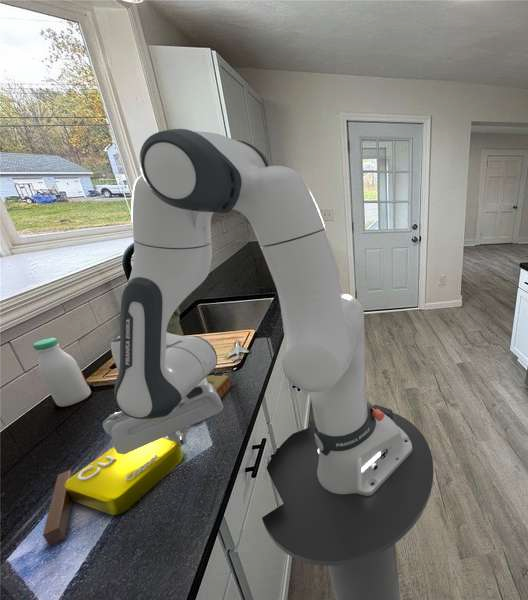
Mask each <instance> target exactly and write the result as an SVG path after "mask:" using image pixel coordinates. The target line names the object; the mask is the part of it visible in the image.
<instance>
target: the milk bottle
mask: <svg viewBox="0 0 528 600" xmlns="http://www.w3.org/2000/svg"><path fill="white" fill-rule="evenodd" d="M32 347H33V349H34V350H35V352H36V353H38V366H37V371H38V373H39V375H40V378H41V379H42V381H43V383H44V385H45V387H46V389H47V391H48V392H49V394H50V396H51V398H52V399H53V401H54V403H55V405H56V406H58V407H68V406H73V405H75V404H77V403H80V402H82V401H84V400H86V399H88V397H89V396H90V395H91V394H92V390H91V387H90V386H89V383H88V382H87V380H86V377H85V376H84V374H83V372H82V370H81V368H80V367H79V364H78V363H77V361H76V360H75V358H73V356H72V355H70V354H69V353H67V352H65V351H64V350H63V349H62V348H60V343H59V341H58V340H57V338H55V337H50V338H49V337H48V338H44V339H40V340H38V341H36V342H35V343H33V345H32Z"/></svg>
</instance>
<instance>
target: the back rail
mask: <svg viewBox="0 0 528 600" xmlns="http://www.w3.org/2000/svg"><path fill="white" fill-rule="evenodd" d="M73 475H75V474H74V473H73V471H72V469H68V470H66V471H64V472H61V473H58V474H57V476H56V481H55V484H54V489H53V492H52V497H51V501H50V504H49V508H48V513H47V517H46V521H45V524H44V528H43V533H42V537H43V539H44V540H45V541H46V542H47V544H48V545H49V546H50V547H52V546H54V545H55V544H57V543H60V542H61V541H63V540H66V539H67V533H68V527H69V522H70V516H71V511H72V506H73V502H74V501H73V500H72V498H71V497H70V495H69V493H68V492H67V490H66V489H65V486H64V485H65V483H66V481H67V480H68V479H70V478H71V477H72V476H73Z"/></svg>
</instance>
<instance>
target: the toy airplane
mask: <svg viewBox="0 0 528 600" xmlns="http://www.w3.org/2000/svg"><path fill="white" fill-rule="evenodd" d="M240 353H250V350H249V349H247V348H245V347H243V346H241V345H240V342H239V340H238V339H236V341H235V346H234V347H233V348H232V349H231V351H230V352H229V353H228V354H227V355H226V359H228V358H230V357H231V356H233V355H236V356H234V358H233V361H237V360H240V359H241V360H243V356H241V355H240ZM239 363H240V361H237V364H239Z"/></svg>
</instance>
